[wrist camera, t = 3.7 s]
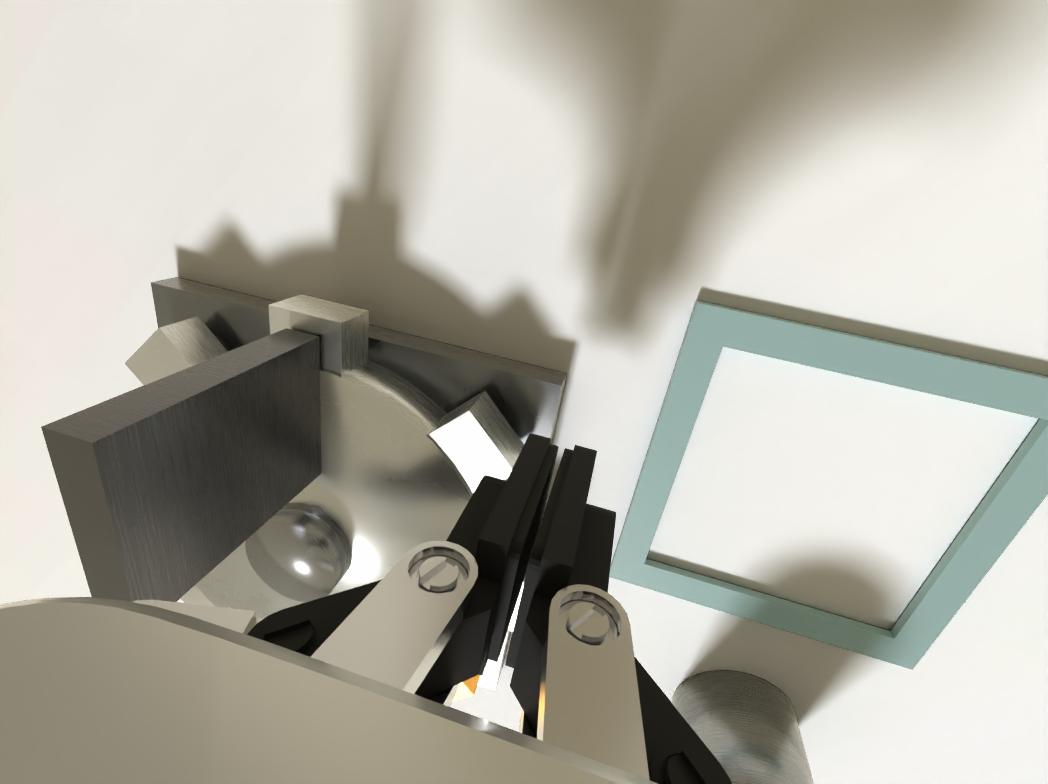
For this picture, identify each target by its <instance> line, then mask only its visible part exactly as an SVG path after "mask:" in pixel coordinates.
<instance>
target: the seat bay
mask: <svg viewBox="0 0 1048 784" xmlns="http://www.w3.org/2000/svg"><path fill="white" fill-rule="evenodd" d="M723 346H724V347H728V348H732V349H737V350H741V351H746V352H750V353H754V354H759V355H763V356H768V357H772V358H776V359H781V360H785V361H789V362H794V363H798V364H803V365H807V366H811V367H816V368H820V369H824V370H829V371H833V372H838V373H842V374H846V375H851V376H855V377H860V378H864V379H868V380H873V381H877V382H881V383H886V384H890V385H895V386H899V387H903V388H908V389H912V390H917V391H921V392H925V393H930V394H934V395H938V396H943V397H947V398H952V399H956V400H960V401H965V402H969V403H973V404H978V405H982V406H987V407H991V408H995V409H1000V410H1004V411H1009V412H1013V413H1017V414H1022V415H1026V416H1030V417H1035V418H1039V419H1040V420H1039V421H1038V422H1037V424H1036V425H1035V427H1034V428H1033V429H1032V431H1031V432H1030V434H1029V435H1028V437H1027V438H1026V439H1025V441H1024V442H1023V444H1022V445H1021V446H1020V448H1019V449H1018V451H1017V452H1016V454H1015V455H1014V456H1013V458H1012V459H1011V461H1010V462H1009V463H1008V465H1007V466H1006V468H1005V469H1004V471H1003V472H1002V473H1001V475H1000V476H999V478H998V479H997V481H996V482H995V483H994V485H993V486H992V488H991V489H990V490H989V492H988V493H987V495H986V496H985V498H984V499H983V500H982V502H981V503H980V505H979V506H978V507H977V509H976V510H975V512H974V513H973V515H972V516H971V517H970V519H969V520H968V522H967V523H966V524H965V526H964V527H963V529H962V530H961V532H960V533H959V534H958V536H957V537H956V539H955V540H954V542H953V543H952V544H951V546H950V547H949V549H948V550H947V551H946V553H945V554H944V556H943V557H942V559H941V560H940V561H939V563H938V564H937V566H936V567H935V568H934V570H933V571H932V573H931V574H930V576H929V577H928V578H927V580H926V581H925V583H924V584H923V585H922V587H921V588H920V590H919V591H918V593H917V594H916V595H915V597H914V598H913V600H912V601H911V603H910V604H909V605H908V607H907V608H906V610H905V611H904V612H903V614H902V615H901V617H900V618H899V620H898V621H897V622H896V624H895V625H894V627H893V628H892V629H891V631H888V630H885V629H882V628H878V627H875V626H872V625H868V624H865V623H862V622H858V621H855V620H851V619H848V618H845V617H841V616H838V615H835V614H831V613H828V612H825V611H821V610H818V609H814V608H811V607H808V606H804V605H801V604H798V603H794V602H791V601H788V600H784V599H781V598H777V597H774V596H771V595H767V594H764V593H761V592H757V591H754V590H751V589H747V588H744V587H740V586H737V585H734V584H730V583H727V582H724V581H720V580H717V579H713V578H710V577H707V576H703V575H700V574H697V573H693V572H690V571H687V570H683V569H680V568H676V567H673V566H670V565H666V564H663V563H660V562H656V561H653V560H650V559H646V557H647V555H648V552H649V549H650V546H651V544H652V541H653V538H654V535H655V532H656V530H657V527H658V524H659V521H660V519H661V516H662V513H663V510H664V507H665V505H666V502H667V499H668V496H669V494H670V491H671V488H672V485H673V483H674V480H675V477H676V474H677V471H678V469H679V466H680V463H681V460H682V458H683V455H684V452H685V449H686V447H687V444H688V441H689V438H690V435H691V433H692V430H693V427H694V424H695V422H696V419H697V416H698V413H699V411H700V408H701V405H702V402H703V399H704V397H705V394H706V391H707V388H708V386H709V383H710V380H711V377H712V375H713V372H714V369H715V366H716V363H717V361H718V358H719V355H720V352H721V350H722V347H723ZM1047 494H1048V376H1044V375H1040V374H1035V373H1030V372H1026V371H1021V370H1016V369H1012V368H1007V367H1003V366H998V365H993V364H989V363H984V362H979V361H975V360H970V359H966V358H961V357H956V356H952V355H947V354H942V353H938V352H933V351H929V350H924V349H919V348H915V347H910V346H905V345H901V344H896V343H892V342H887V341H882V340H878V339H873V338H869V337H864V336H859V335H855V334H850V333H845V332H841V331H836V330H832V329H827V328H822V327H818V326H813V325H808V324H804V323H799V322H795V321H790V320H785V319H781V318H776V317H771V316H767V315H762V314H758V313H753V312H748V311H744V310H739V309H734V308H730V307H725V306H721V305H716V304H711V303H707V302H702V301H698V300H696V302H695V306H694V309H693V312H692V315H691V318H690V321H689V324H688V327H687V330H686V333H685V337H684V340H683V343H682V346H681V349H680V352H679V355H678V358H677V361H676V364H675V368H674V371H673V374H672V377H671V380H670V383H669V386H668V389H667V392H666V396H665V399H664V402H663V405H662V408H661V411H660V414H659V417H658V420H657V423H656V427H655V430H654V433H653V436H652V439H651V442H650V445H649V448H648V451H647V454H646V458H645V461H644V464H643V467H642V470H641V473H640V476H639V479H638V482H637V485H636V489H635V492H634V495H633V498H632V501H631V504H630V507H629V510H628V513H627V517H626V520H625V523H624V526H623V529H622V532H621V535H620V538H619V541H618V544H617V548H616V551H615V554H614V557H613V560H612V563H611V566H610V574H609V577H612V578H615V579H618V580H621V581H625V582H628V583H631V584H635V585H638V586H641V587H644V588H648V589H651V590H654V591H657V592H661V593H664V594H667V595H670V596H674V597H677V598H680V599H684V600H687V601H690V602H693V603H697V604H700V605H703V606H706V607H710V608H713V609H716V610H719V611H723V612H726V613H729V614H733V615H736V616H739V617H742V618H746V619H749V620H752V621H755V622H759V623H762V624H765V625H769V626H772V627H775V628H778V629H782V630H785V631H788V632H791V633H795V634H798V635H801V636H804V637H808V638H811V639H814V640H818V641H821V642H824V643H827V644H831V645H834V646H837V647H840V648H844V649H847V650H850V651H853V652H857V653H860V654H863V655H867V656H870V657H873V658H876V659H880V660H883V661H886V662H889V663H893V664H896V665H899V666H902V667H906V668H909V669H912V670H913V668H914V667H915V666H916V664H917V663H918V662H919V660H920V659H921V658H922V657H923V655H924V654H925V653H926V651H927V650H928V649H929V648H930V646H931V645H932V644H933V642H934V641H935V640H936V638H937V637H938V636H939V635H940V633H941V632H942V631H943V629H944V628H945V627H946V625H947V624H948V623H949V622H950V620H951V619H952V618H953V616H954V615H955V614H956V612H957V611H958V610H959V609H960V607H961V606H962V605H963V603H964V602H965V601H966V600H967V598H968V597H969V596H970V594H971V593H972V592H973V590H974V589H975V588H976V587H977V585H978V584H979V583H980V581H981V580H982V579H983V577H984V576H985V575H986V574H987V572H988V571H989V570H990V568H991V567H992V566H993V564H994V563H995V562H996V561H997V559H998V558H999V557H1000V555H1001V554H1002V553H1003V552H1004V550H1005V549H1006V548H1007V546H1008V545H1009V544H1010V542H1011V541H1012V540H1013V539H1014V537H1015V536H1016V535H1017V533H1018V532H1019V531H1020V529H1021V528H1022V527H1023V526H1024V524H1025V523H1026V522H1027V520H1028V519H1029V518H1030V516H1031V515H1032V514H1033V513H1034V511H1035V510H1036V509H1037V507H1038V506H1039V505H1040V504H1041V502H1042V501H1043V500H1044V498H1045V497H1046V496H1047Z"/></svg>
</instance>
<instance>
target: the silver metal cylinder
mask: <svg viewBox="0 0 1048 784" xmlns="http://www.w3.org/2000/svg"><path fill="white" fill-rule="evenodd" d="M672 704H673V705H674V706H675V708H676V709H677V710H678V711H679V713H680V714H681V715H682V716H683V718H684V719H685V720H686V721H687V723H688V724H689V725H690V726H691V728H692V729H693V730H694V731H695V733H696V734H697V735H698V736H699V738H700V739H701V740H702V741H703V743H704V744H705V745H706V746H707V748H708V749H709V750H710V751H711V752H712V754H713V755H714V756H715V757H716V759H717V760H718V761H719V762H720V764H721V766H722V767H723V769H724V770H725V772H726V773H727V775H728V776H729V778H730V780H731V782H732V784H814V783H813V779H812V775H811V771H810V768H809V764H808V760H807V756H806V752H805V749H804V745H803V741H802V737H801V734H800V730H799V726H798V722H797V719H796V715H795V711H794V708H793V706H792V704H791V702H790V700H789V699H788V698H787V696H786V695H785V694H784V693H783V692H782V691H781V690H780V689H778V688H777V687H776V686H774V685H773V684H771V683H769V682H768V681H766V680H764V679H761V678H759V677H756V676H754V675H751V674H747V673H743V672H737V671H728V670H717V671H709V672H703V673H700V674H697V675H694V676H692V677H690V678H688V679H687V680H685V681H684V682H683V683H681V684H680V685H679V687H678V688H677V689H676V691H675V692H674V695H673V699H672Z"/></svg>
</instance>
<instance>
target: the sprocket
mask: <svg viewBox="0 0 1048 784" xmlns="http://www.w3.org/2000/svg"><path fill="white" fill-rule="evenodd" d="M269 322H270V335H268V336H266V337H263V338H261V339H258V340H256V341H253V342H251V343H248V344H246V345H243V346H241V347H239V348H236V349H234V350H231V351H229V352H228V351H227V350H226V349H225V348H224V347H223V345H222V344H221V343H220V342H219V340H218V339H217V338H216V337H215V336H214V334H213V333H212V332H211V331H210V330H209V328H208V327H207V326H206V325H205V324H204V322H203V321H202V320H201V319H200V318H199V316H197V317H194V318H190V319H187V320H184V321H180V322H177V323H173V324H170V325H167V326H163V327H160V328H158V329H157V331H156V332H155V333H154V334H153V335H152V336H151V337H150V338H149V339H148V340H147V341H146V342H145V343H144V344H143V345H142V346H141V347H140V348H139V349H138V350H137V351H136V352H135V353H134V354H133V355H132V356H131V357H130V358H129V359H128V360H127V362H126V363H125V364H126V365H127V366H128V368H129V369H130V370H131V371H132V372H133V373H134V374H135V375H136V377H137V378H138V379H139V380H140V381H141V382H142V383H143V384H144V386H142V387H139V388H137V389H134V390H132V391H129V392H127V393H124V394H122V395H119V396H117V397H114V398H112V399H109V400H107V401H104V402H102V403H100V404H97V405H95V406H92V407H90V408H87V409H85V410H82V411H80V412H77V413H75V414H72V415H70V416H67V417H65V418H62V419H60V420H57V421H55V422H52V423H50V424H47V425H45V426H42V427H41V428H42V431H43V434H44V438H45V441H46V444H47V448H48V451H49V455H50V458H51V461H52V465H53V468H54V471H55V475H56V478H57V481H58V485H59V488H60V492H61V495H62V498H63V502H64V505H65V508H66V512H67V515H68V518H69V522H70V525H71V528H72V532H73V535H74V539H75V542H76V545H77V549H78V552H79V555H80V559H81V562H82V565H83V569H84V572H85V575H86V579H87V582H88V586H89V589H90V592H91V596H92V598H103V599H114V600H123V601H129V602H132V601H136V600H161V601H170V602H177V601H178V600H179V599H180V598H181V599H182V600H183V601H184V602H185V603H188V604H197V605H206V606H215V607H224V608H233V609H242V610H251V611H256V618H266V617H267V616H268V615H270V614H273V613H275V612H278V611H280V610H282V609H285V608H289V607H292V606H295V605H299V604H302V603H305V602H309V601H312V600H315V599H319V598H322V597H325V596H329V595H332V594H335V593H339V592H342V591H345V590H349V589H352V588H355V587H359V586H362V585H365V584H369V583H372V582H375V581H379V580H382V579H383V578H384V577H385V576H386V575H387V574H388V573H389V571H390V570H391V569H392V568H393V567H394V566H395V565H396V564H397V563H398V562H399V561H400V560H401V559H402V557H403V556H404V555H405V554H406V553H407V552H409V551H410V550H411V549H412V548H414V547H415V546H418V545H420V544H422V543H425V542H431V541H446V540H447V538H448V537H449V535H450V533H451V531H452V530H453V528H454V526H455V524H456V523H457V521H458V519H459V517H460V516H461V514H462V512H463V510H464V509H465V507H466V505H467V503H468V502H469V500H470V498H471V496H472V495H473V493H474V491H475V489H476V488H477V486H478V484H479V482H480V481H481V479H482V478H483V476H484V475H488V476H492V477H495V478H499V479H502V480H504V479H506V478H508V477H509V475H510V473H511V471H512V468H513V466H514V464H515V462H516V460H517V458H518V456H519V454H520V452H521V450H522V448H523V446H524V444H523V442H522V441H521V440H520V438H519V437H518V435H517V434H516V433H515V431H514V430H513V428H512V427H511V426H510V424H509V423H508V422H507V420H506V419H505V417H504V416H503V415H502V413H501V412H500V410H499V409H498V408H497V406H496V405H495V403H494V402H493V401H492V399H491V398H490V396H489V395H488V394H487V392H486V391H484V392H482V393H480V394H479V395H477V396H475V397H474V398H472V399H470V400H469V401H467V402H465V403H464V404H462V405H460V406H459V407H457V408H455V409H454V410H452V411H450V412H449V413H446V412H445V411H444V410H443V409H442V408H441V407H440V406H439V405H438V404H437V403H435V402H434V401H433V400H432V399H431V398H430V397H428V396H427V395H426V394H424V393H423V392H422V391H421V390H419V389H418V388H417V387H415V386H414V385H413V384H411V383H410V382H409V381H407V380H405V379H404V378H402V377H400V376H399V375H397V374H395V373H394V372H392V371H390V370H389V369H387V368H385V367H383V366H381V365H379V364H376V363H374V362H372V361H370V360H368V328H369V310H365V309H361V308H356V307H352V306H348V305H344V304H340V303H336V302H332V301H328V300H324V299H319V298H315V297H311V296H307V295H303V294H300V295H297V296H294V297H291V298H288V299H285V300H282V301H279V302H276V303H272V304H269ZM524 580H525V579H524ZM523 585H524V582H523ZM523 585H522V588H521V591H520V594H519V597H518V601H517V604H516V607H515V610H514V613H513V616H512V619H511V622H510V625H509V628H508V630H510V631H513V629H514V624H515V620H516V616H517V611H518V607H519V602H520V598H521V593H522V589H523ZM480 676H481V675H477V676H475V677H473V678H470V679H468V680H466V681H464V682H462V683H459V688H458V691H457V693H456V696H455V698H454V700H453V701H455V700H458V699H462V698H466V697H469V696H473V695H474V693H475V690H476V687H477V684H478V681H479V678H480Z"/></svg>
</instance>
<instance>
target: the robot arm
mask: <svg viewBox="0 0 1048 784" xmlns="http://www.w3.org/2000/svg"><path fill="white" fill-rule="evenodd" d="M557 452H558V446H555V445H551V438H547V437H544V436H540V435H536V434H533V433H530V434H529V436H528V438H527V440H526V442H525V444H524V446H523V448H522V450H521V452H520V454H519V456H518V458H517V460H516V462H515V464H514V466H513V468H512V471H511V473H510V475H509V477H508V479H507V481H506V480H502V479H499V478H495V477H492V476H488V475H484V476H483V478H482V479H481V481H480V482H479V484H478V486H477V488H476V489H475V491H474V493H473V495H472V496H471V498H470V500H469V502H468V503H467V505H466V507H465V509H464V510H463V512H462V514H461V516H460V517H459V519H458V521H457V523H456V524H455V526H454V528H453V530H452V531H451V533H450V535H449V537H448V538H447V540H446V541H431V542H425V543H422V544H420V545H418V546H415V547H414V548H412V549H411V550H410V551H409V552H407V553H406V554H405V555H404V556H403V557H402V559H401V560H400V561H399V562H398V563H397V564H396V565H395V566H394V567H393V568H392V569H391V570H390V571H389V573H388V574H387V575H386V576H385V577H384V578H383V579H382V580H379V581H375V582H372V583H369V584H365V585H362V586H359V587H355V588H352V589H349V590H345V591H342V592H339V593H335V594H332V595H329V596H325V597H322V598H319V599H315V600H312V601H309V602H305V603H302V604H299V605H295V606H292V607H289V608H285V609H282V610H280V611H278V612H275V613H273V614H270V615H268V616H267V617H266V618H256V611H251V610H242V609H233V608H224V607H215V606H206V605H197V604H188V603H179V602H170V601H161V600H136V601H132V602H129V601H123V600H114V599H103V598H92V597H70V598H42V599H32V600H24V601H18V602H12V603H6V604H2V605H0V784H732V782H731V780H730V778H729V776H728V775H727V773H726V772H725V770H724V769H723V767H722V766H721V764H720V762H719V761H718V760H717V759H716V757H715V756H714V755H713V754H712V752H711V751H710V750H709V749H708V748H707V746H706V745H705V744H704V743H703V741H702V740H701V739H700V738H699V736H698V735H697V734H696V733H695V731H694V730H693V729H692V728H691V726H690V725H689V724H688V723H687V721H686V720H685V719H684V718H683V716H682V715H681V714H680V713H679V711H678V710H677V709H676V708H675V706H674V705H673V704H672V703H671V701H670V700H669V699H668V698H667V696H666V695H665V694H664V693H663V692H662V690H661V689H660V688H659V687H658V685H657V684H656V683H655V682H654V680H653V679H652V678H651V677H650V675H649V674H648V673H647V672H646V670H645V669H644V668H643V667H642V665H641V664H640V663H639V662H638V660H637V659H636V658H635V657H634V651H633V643H632V635H631V627H630V622H629V619H628V616H627V613H626V612H625V610H624V609H623V607H622V605H621V604H620V603H619V602H618V601H617V600H616V599H615V598H614V597H613V596H612V595H610V594H608V593H607V592H608V583H609V574H610V565H611V556H612V547H613V538H614V529H615V520H616V512H614V511H610V510H607V509H603V508H600V507H596V506H593V505H589V504H586V501H587V496H588V492H589V487H590V482H591V477H592V472H593V468H594V463H595V458H596V453H597V451H596V450H592V449H588V448H584V447H581V446H577V445H575V447H574V451H573V450H569V449H566V448H565V450H564V453H563V456H562V460H561V463H560V466H559V469H558V472H557V475H556V478H555V481H554V484H553V487H552V490H551V493H550V496H549V499H548V502H547V505H546V508H545V504H546V499H547V495H548V491H549V486H550V482H551V478H552V473H553V469H554V465H555V460H556V456H557ZM544 508H545V511H544ZM543 512H544V514H543ZM524 579H525V580H524ZM523 582H524V585H523ZM522 585H523V589H522V593H521V598H520V602H519V607H518V611H517V616H516V620H515V624H514V629H513V633H512V638H511V642H510V646H509V651H508V655H507V660H506V664H505V665H506V666H509V667H512V668H514V671H513V675H512V679H511V684H510V687H511V689H512V691H513V692H514V694H515V696H516V698H517V700H518V701H519V703H520V705H521V707H522V709H523V710H522V714H521V718H520V726H519V732H517V731H514V730H511V729H508V728H506V727H503V726H500V725H497V724H495V723H492V722H489V721H486V720H484V719H481V718H478V717H475V716H473V715H470V714H467V713H465V712H462V711H459V710H456V709H453V708H451V707H450V705H451V703H452V701H453V700H454V698H455V696H456V693H457V691H458V688H459V683H462V682H464V681H466V680H468V679H470V678H473V677H475V676H477V675H481V676H483V673H484V670H485V667H486V664H487V661H488V659H489V660H492V661H495V662H498V659H499V656H500V653H501V650H502V647H503V644H504V641H505V638H506V635H507V632H508V628H509V625H510V622H511V619H512V616H513V613H514V610H515V607H516V604H517V601H518V597H519V594H520V591H521V588H522Z"/></svg>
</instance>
